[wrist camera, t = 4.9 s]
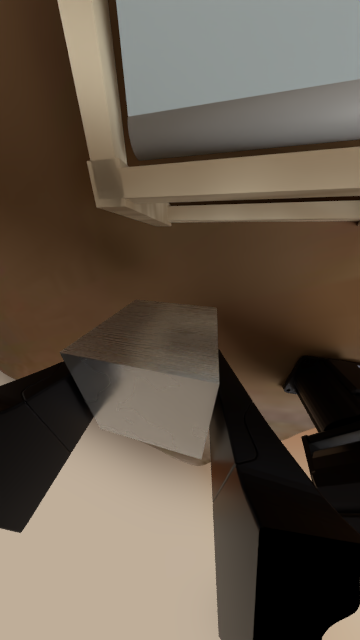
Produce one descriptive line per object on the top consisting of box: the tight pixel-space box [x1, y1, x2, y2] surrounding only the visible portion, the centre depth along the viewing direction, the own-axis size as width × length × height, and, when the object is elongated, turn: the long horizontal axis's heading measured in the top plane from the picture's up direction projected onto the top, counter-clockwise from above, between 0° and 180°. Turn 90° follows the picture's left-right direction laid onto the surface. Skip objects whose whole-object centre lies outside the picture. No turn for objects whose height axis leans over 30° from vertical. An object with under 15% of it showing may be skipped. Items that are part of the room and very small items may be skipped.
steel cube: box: [60, 300, 219, 459], centre depth 7 cm, size 5×5×5 cm
